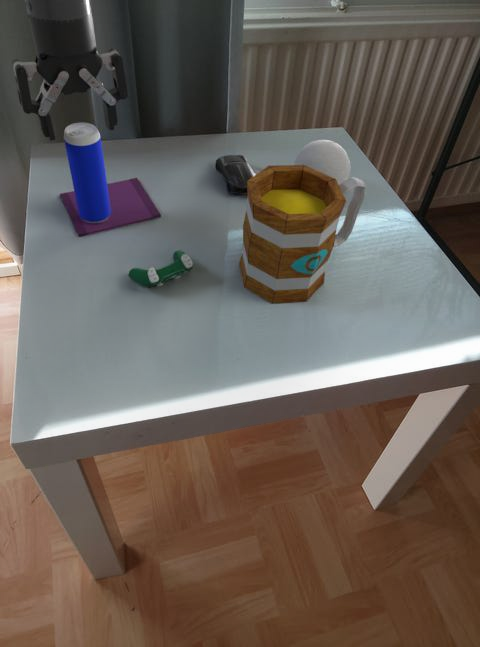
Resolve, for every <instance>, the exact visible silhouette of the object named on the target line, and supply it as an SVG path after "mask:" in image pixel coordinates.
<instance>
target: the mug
mask: <svg viewBox="0 0 480 647" xmlns="http://www.w3.org/2000/svg"><path fill="white" fill-rule="evenodd" d="M255 174H256V175H255V176H253V177H252V178H250V179H249V180H248V181H247V186H246V187H247V193H248V194H247V199H246V211H245V215H244V221H243V225H242V249H241V255H240V259H239V263H238V266H239V270H240V275H241V280H242V284H243V288H244V289H245V290H248V291H250V292H251V293H253V294H255V295H256V296H258V297H260V298H262V299H263V300H265V301H267V302H269V303H270V304H287V303H304V302H305V303H306V302H308V301H309V299H311V297H312V296H313V295H315V293H316V292H317V291H318V290H319V289H320V288H321V287H322V286H323V285H325V284H324V283H325V277H326V269H327V267H328V266H327V265H328V261H329V259H330V256H331V254H332V251H333V249H334V248H338V247H339V246H341V245H343V244H344V243H345V242H347V241H348V238H349V237H350V235H351V234H352V232H353V229H354V227H355V224H356V221H357V218H358V215H359V211H360V209H361V206H362V205H363V201H364V199H365V196H366V183H365V182H364V181H363V180H362V179H360V178H356V177H352V176H349V178H348V179H346V180H345V181H343V182H342V183H340V184H339V185H338V183H337V180H336V179H335V178H332V177H330V176H328V175H326V174H323V173H321V172H319V171H317V170H314V169H312V168H310V167H308V166H305V165H294V164H287V165H282V164H281V165H280V164H279V165H267V166H266V167H264V168H263V169H262V170H260V171H259V172H257V173H255ZM352 191H353V194H352V197H351V199H350V202H349V204H348V207H347V210H346V213H345V217H344V220H343V223H342V226H341V227H340V228H339V231H337V229H338V225H339V221H340V217H341V215H342V213H343V210H344V208H345V205H346V203H347V200H346V198H345V197H346V196H347V195H348V194H349V193H350V192H352Z"/></svg>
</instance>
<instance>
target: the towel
mask: <svg viewBox="0 0 480 647" xmlns="http://www.w3.org/2000/svg"><path fill="white" fill-rule="evenodd" d="M107 187H108V194H109V201H110V208H111V214H110V216H109V217H108V218H107V219H106V220H105V221H103V222H101V223H88V222H86V221H84V220H83V219H82V218H81V217H80V216H79V212H78V207H77V202H76V197H75V192H74V190H72V191H66V192H61V193H59V197H60V199H61V201H62V204H63V205H64V208H65V210H66V213H67V214H68V216H69V219H70V221H71V223H72V225H73V228H74V230H75V232H76V235H77V236H78V237H84V236H89V235H92V234H96V233H101V232H106V231H108V230H113V229H117V228H121V227H126V226H130V225H133V224H138V223H142V222H146V221H150V220H154V219H158V218H161V217H162V214H161V213H160V211H159V210H158V208H157V207H156V205H155V203H154V202H153V200H152V199H151V197H150V196H149V193H147V191H146V189H145V188H144V186H143V185H142V183H141V182H140V180H139V178H138V177H134V178H133V177H132V178H130V179H124V180H120V181H114V182H111V183H107Z"/></svg>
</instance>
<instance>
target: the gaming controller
mask: <svg viewBox="0 0 480 647" xmlns="http://www.w3.org/2000/svg"><path fill="white" fill-rule="evenodd" d="M172 258H173V259H172V260H173V262H172V263H169V264H168V265H165V266H162V267H160V268H157V269H156V268H155V267H153V266H151V267H149V268H148V269H144V268H140V267H133V268H131V269H130V270H129V271H128V274H127V275H128V277H129V279H131V280H132V281H133V282H134V283H136V284H138V285H140V286H142V287H145V288H148V289H150V288H152V287H160V286H163V285H164V282H166V281H168V280H171V279H173V280H177V279H179V278H180V277H181V275H182V274H185V273H187V272H190V271H191V270H193V269H194V262H193V260H192V258H190V257H189V255H188V254H187V253H186V252H184V251H183V250H180V249H179V250H175V251H174V252H173V257H172Z"/></svg>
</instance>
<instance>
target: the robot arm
mask: <svg viewBox="0 0 480 647" xmlns="http://www.w3.org/2000/svg"><path fill="white" fill-rule="evenodd" d="M24 2H25V7H26V12H27V16H28V21H29V27H30V30H31V35H32V40H33V44H34V48H35V60H34V61H21V60H20V59H16V58H15V59H13V60H12V62H11V66H12V72H13V75H14V81H15V87H16V90H17V97H18V102H19V104H20V107H21V108H22V110H23V113H25V114H26V115H27V114H28V115H30V114H35V115H37V119H38V122H39V127H40V131H41V132H42V134H43V136H44V137H45V138H48V139H49V141H51V142H53V141H56V136H55V135H56V134H55V131H54V127H53V123H52V122H53V121H52V117H51V114H50V113H49V112H50V110H51V108H52V105H53V104H55V103H56V101H57V100H58V97H59V96H60V94H63V96H69V95H72V94H74V93H75V94H76V93H79V94H83V93H88V91H89V90H90V89H92V90H93V91H94V92H95V93H96V94H97V95H98V96H99V97H101V99H102V101H101V102H102V109H103V116H104V124H105V126H106V128H107V130H108V131H115V126H118V115H117V114H118V113H117V103H118V102H119V101H121V100H126V99H128V97H129V93H128V86H127V80H126V73H125V68H124V61H123V57H122V56H121V54H120V53H119V52H118V51H117V49H116V48H112V47H111V48H110V49H109V50H108V52H104V53H99V52H98V48H97V41H96V32H95V25H94V19H93V11H92V5H93V3H92V0H24ZM103 65H105V67H106V68H107V70H108V71H109V72H111V77H112V83H113V87H112V88H110V89H108V88H107V86H105V85H104V84H103V82H102V81H101V80H100V78H98V76H99V73H100V71H101V69H102V67H103ZM35 73H38V75H39V76H40V77H41V78H42V79H43V81H42V83H41V85H40V87H39V92H38V94H37V95H36V99H32V97H31V91H30V86H29V85H30V84H29V83H30V82H32V81H33V80H34V74H35Z"/></svg>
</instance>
